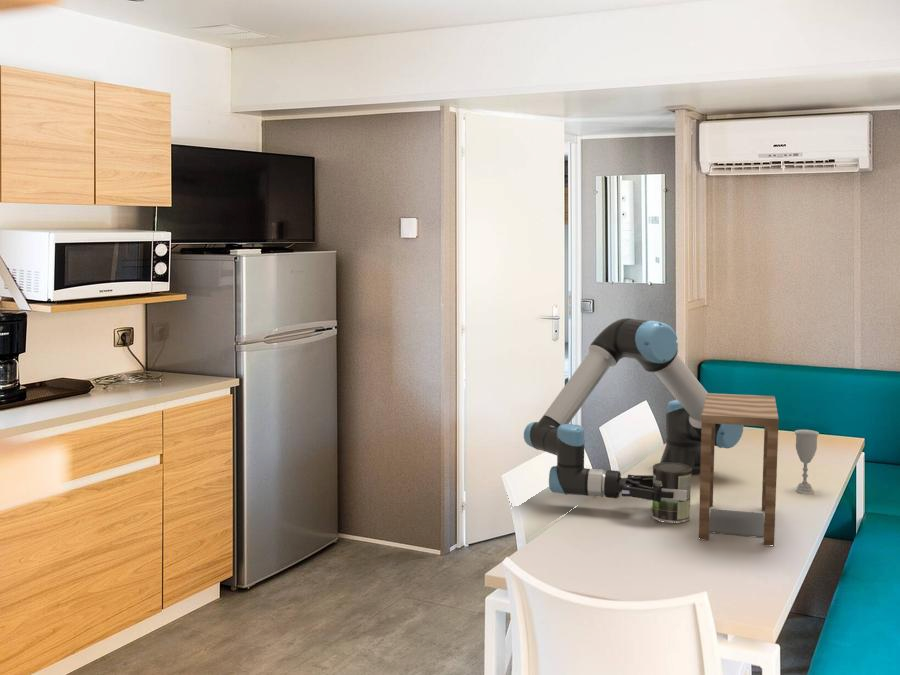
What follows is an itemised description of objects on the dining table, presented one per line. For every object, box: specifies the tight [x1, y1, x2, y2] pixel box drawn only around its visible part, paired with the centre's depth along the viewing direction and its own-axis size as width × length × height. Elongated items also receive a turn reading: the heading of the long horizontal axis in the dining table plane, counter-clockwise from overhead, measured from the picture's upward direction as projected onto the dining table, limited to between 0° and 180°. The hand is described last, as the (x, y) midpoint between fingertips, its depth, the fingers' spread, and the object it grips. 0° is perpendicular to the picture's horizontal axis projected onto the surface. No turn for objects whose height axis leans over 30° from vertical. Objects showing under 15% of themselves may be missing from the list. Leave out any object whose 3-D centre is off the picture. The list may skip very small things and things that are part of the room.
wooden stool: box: [698, 392, 780, 547], centre depth 240 cm, size 32×18×32 cm, turn 162°
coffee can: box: [651, 462, 692, 524], centre depth 246 cm, size 10×10×14 cm
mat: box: [709, 508, 765, 538], centre depth 242 cm, size 20×14×1 cm
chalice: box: [794, 429, 820, 495], centre depth 270 cm, size 7×7×18 cm
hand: (687, 490), depth 245 cm, fingers closed on coffee can, 10 cm apart
